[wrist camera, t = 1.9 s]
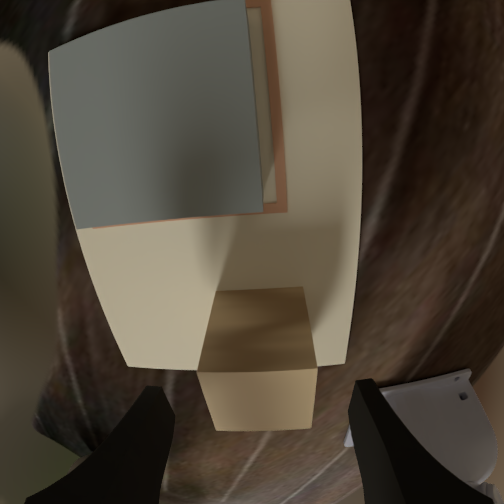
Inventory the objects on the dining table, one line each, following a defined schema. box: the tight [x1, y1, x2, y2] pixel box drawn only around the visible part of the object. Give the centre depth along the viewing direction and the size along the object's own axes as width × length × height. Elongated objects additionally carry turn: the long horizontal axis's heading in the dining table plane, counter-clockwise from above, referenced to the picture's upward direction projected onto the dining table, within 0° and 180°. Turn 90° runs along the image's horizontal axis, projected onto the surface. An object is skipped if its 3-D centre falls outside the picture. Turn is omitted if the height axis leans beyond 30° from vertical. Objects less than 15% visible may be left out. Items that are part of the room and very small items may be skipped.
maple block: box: [197, 286, 318, 431], centre depth 13 cm, size 4×4×5 cm
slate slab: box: [49, 0, 263, 229], centre depth 10 cm, size 7×7×2 cm
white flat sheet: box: [48, 0, 362, 370], centre depth 13 cm, size 13×18×1 cm
